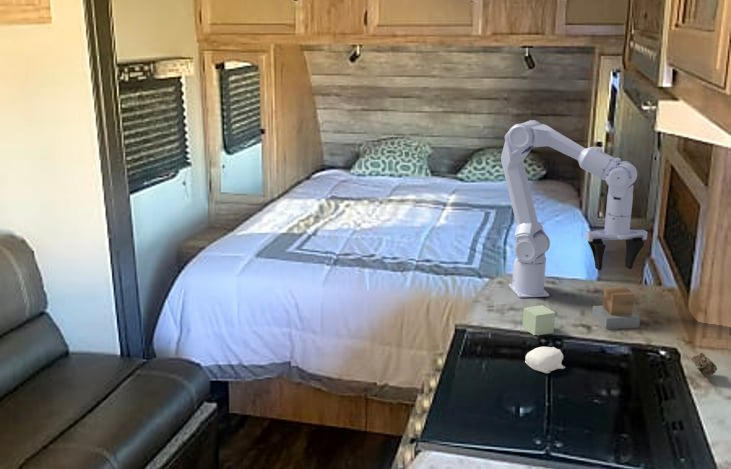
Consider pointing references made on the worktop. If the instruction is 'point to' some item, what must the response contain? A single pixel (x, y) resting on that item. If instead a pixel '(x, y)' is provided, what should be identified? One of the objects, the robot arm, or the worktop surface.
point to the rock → (704, 365)
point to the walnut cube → (618, 300)
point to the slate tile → (615, 319)
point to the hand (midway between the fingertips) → (613, 268)
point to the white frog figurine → (544, 359)
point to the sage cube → (538, 320)
